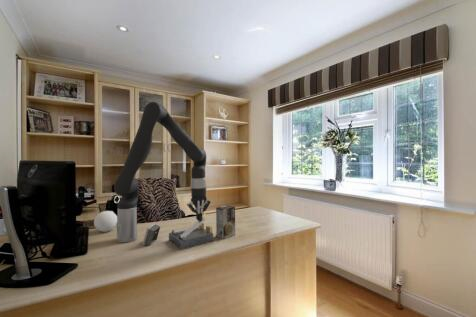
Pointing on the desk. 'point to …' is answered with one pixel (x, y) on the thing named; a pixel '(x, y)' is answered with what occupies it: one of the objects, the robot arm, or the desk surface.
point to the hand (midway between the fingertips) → (199, 220)
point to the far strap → (184, 230)
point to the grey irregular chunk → (151, 234)
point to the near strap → (192, 228)
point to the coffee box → (225, 221)
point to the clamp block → (192, 237)
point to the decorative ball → (105, 221)
